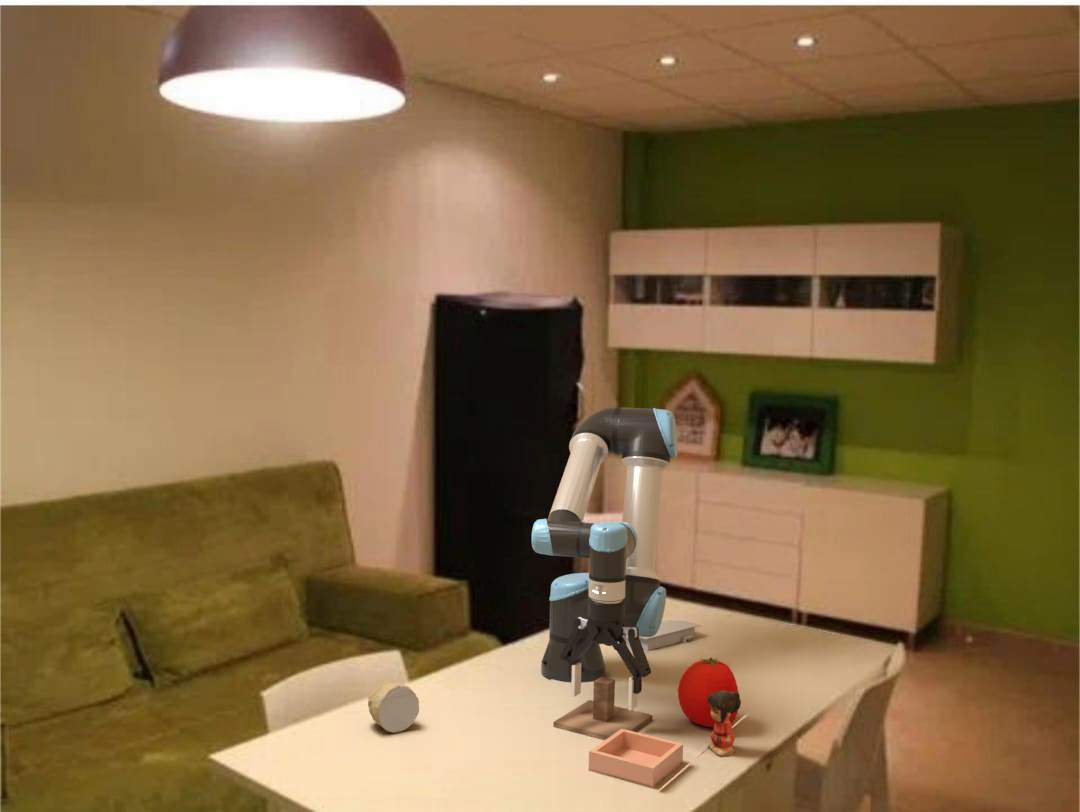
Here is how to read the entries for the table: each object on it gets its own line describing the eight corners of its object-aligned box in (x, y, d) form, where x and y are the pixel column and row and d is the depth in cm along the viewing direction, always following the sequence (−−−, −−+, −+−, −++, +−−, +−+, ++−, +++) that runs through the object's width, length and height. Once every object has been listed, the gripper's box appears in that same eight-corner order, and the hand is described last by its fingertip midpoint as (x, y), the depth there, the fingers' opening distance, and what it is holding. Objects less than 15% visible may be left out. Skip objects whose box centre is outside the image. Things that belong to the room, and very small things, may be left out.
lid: (553, 726, 212) (554, 683, 211) (589, 704, 225) (590, 663, 224) (618, 743, 204) (620, 698, 203) (652, 719, 217) (653, 677, 216)
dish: (588, 772, 192) (589, 751, 191) (620, 748, 203) (621, 728, 202) (652, 790, 185) (653, 768, 185) (682, 764, 196) (683, 744, 196)
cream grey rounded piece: (379, 709, 202) (364, 674, 210) (376, 746, 207) (362, 711, 215) (425, 698, 206) (409, 664, 214) (422, 735, 211) (406, 701, 219)
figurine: (716, 741, 207) (718, 682, 206) (741, 749, 204) (744, 689, 203) (700, 751, 202) (702, 691, 201) (725, 759, 199) (728, 698, 198)
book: (708, 640, 275) (708, 625, 275) (647, 656, 261) (647, 641, 260) (665, 626, 287) (666, 612, 287) (604, 641, 272) (605, 626, 272)
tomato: (746, 723, 217) (748, 657, 216) (726, 741, 207) (729, 672, 206) (689, 710, 223) (691, 646, 222) (668, 728, 214) (670, 660, 212)
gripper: (545, 593, 216) (543, 694, 217) (653, 613, 203) (650, 719, 204) (563, 586, 222) (561, 684, 224) (669, 604, 209) (666, 708, 211)
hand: (603, 701), depth 214 cm, fingers open, 12 cm apart
